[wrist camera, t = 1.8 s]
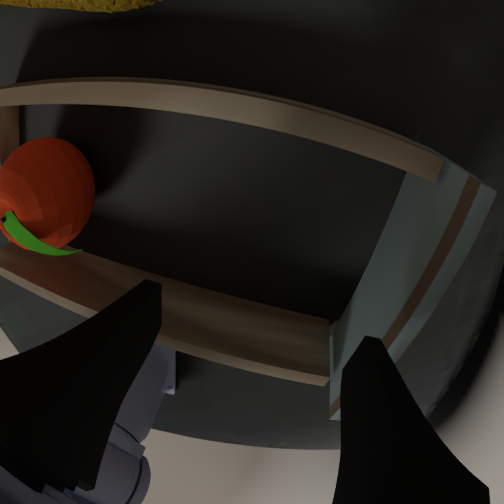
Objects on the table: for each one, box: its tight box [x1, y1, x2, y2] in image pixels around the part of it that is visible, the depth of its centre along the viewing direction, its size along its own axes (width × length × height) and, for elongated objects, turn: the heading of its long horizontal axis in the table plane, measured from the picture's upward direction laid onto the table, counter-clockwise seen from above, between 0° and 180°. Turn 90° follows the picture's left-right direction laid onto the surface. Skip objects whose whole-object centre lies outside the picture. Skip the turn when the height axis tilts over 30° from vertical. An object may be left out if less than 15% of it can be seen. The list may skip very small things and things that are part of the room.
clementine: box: [0, 137, 95, 256], centre depth 15 cm, size 8×7×7 cm
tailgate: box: [329, 142, 498, 421], centre depth 14 cm, size 14×1×6 cm, turn 169°
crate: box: [0, 77, 444, 386], centre depth 15 cm, size 14×26×5 cm, turn 79°
